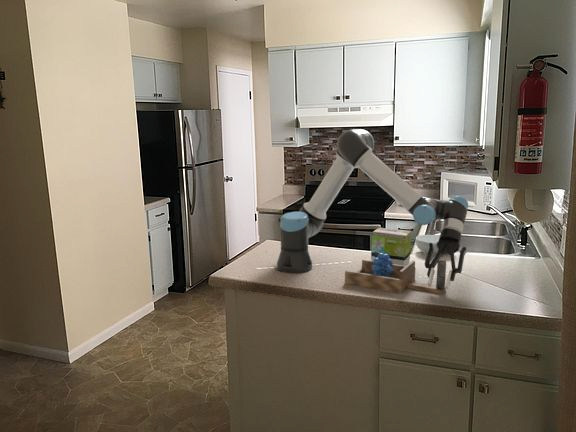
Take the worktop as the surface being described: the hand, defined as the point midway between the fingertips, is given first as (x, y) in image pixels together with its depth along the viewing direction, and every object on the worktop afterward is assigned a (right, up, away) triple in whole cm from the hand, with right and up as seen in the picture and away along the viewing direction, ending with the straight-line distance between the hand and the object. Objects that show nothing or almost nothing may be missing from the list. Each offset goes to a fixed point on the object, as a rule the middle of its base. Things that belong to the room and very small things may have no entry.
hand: (438, 286), depth 176 cm
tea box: (-9, +4, +40) cm, 41 cm away
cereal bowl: (+15, +8, +56) cm, 59 cm away
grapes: (-17, -1, +15) cm, 22 cm away
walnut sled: (-12, -1, +12) cm, 17 cm away
